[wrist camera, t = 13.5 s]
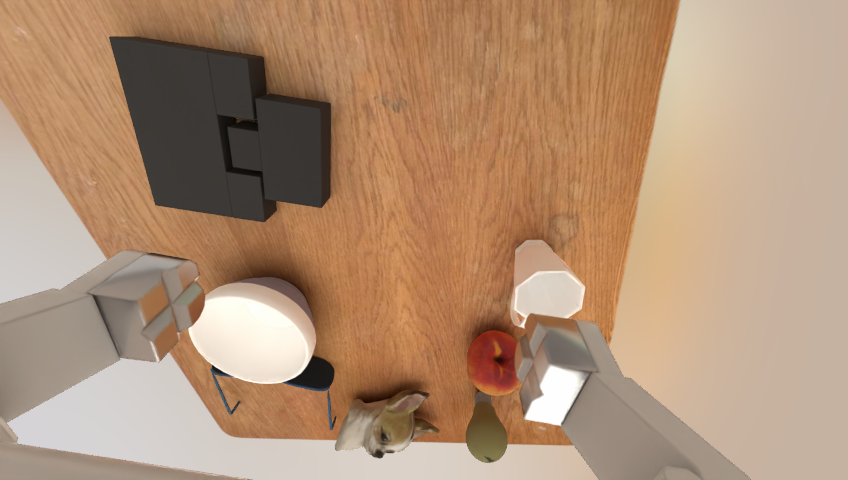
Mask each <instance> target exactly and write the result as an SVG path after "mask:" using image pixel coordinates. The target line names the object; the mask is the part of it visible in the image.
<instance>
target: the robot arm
mask: <svg viewBox="0 0 848 480" xmlns="http://www.w3.org/2000/svg"><path fill="white" fill-rule="evenodd" d="M199 276H200V272H199V269H198V265H197V263H196V262H194V261H192V260H189V259H183V258H178V257H172V256H166V255H161V254H155V253H148V252H142V251H136V250H124V251H121V252H119V253H117V254H116V255H114V256H113V257H111V258H109V259H108V260H106V261H105V262H103V263H102V264H100V265H98V266H97V267H95V268H94V269H92V270H91V271H89V272H87V273H86V274H84V275H83V276H81V277H79V278H78V279H77V280H75V281H73V282H71V283H70V284H68V285H67V286H65V287H64V288H62V289H60V290H59V289H50V290H46V291H43V292H39V293H36V294H33V295H29V296H26V297H23V298H19V299H15V300H12V301H8V302H5V303H2V304H0V480H250V479H244V478H238V477H231V476H225V475H218V474H212V473H205V472H198V471H191V470H185V469H178V468H171V467H165V466H159V465H153V464H146V463H139V462H133V461H126V460H120V459H113V458H106V457H100V456H93V455H87V454H81V453H74V452H68V451H60V450H54V449H47V448H41V447H34V446H28V445H22V444H17V439H18V437H17V436H16V435H15V433H14V432H13V431H12V429H11V428H10V427H9V426H8V424H7V422H9V421H11V420H13V419H14V418H16V417H18V416H20V415H22V414H23V413H25V412H27V411H29V410H31V409H32V408H34V407H36V406H38V405H40V404H42V403H43V402H45V401H47V400H49V399H51V398H52V397H54V396H56V395H57V394H59V393H61V392H63V391H65V390H67V389H68V388H70V387H72V386H74V385H76V384H77V383H79V382H81V381H83V380H85V379H87V378H88V377H90V376H92V375H94V374H96V373H97V372H99V371H101V370H103V369H105V368H106V367H108V366H110V365H112V364H114V363H116V362H117V361H119V360H120V358H126V359H134V360H142V361H150V362H158V363H159V362H160V361H161V360H162V359H163V358H164V357H165V355H166V354H167V353H168V352H169V351H170V350H171V349H172V348H173V347H174V346H175V345H176V343H177V342H178V341H179V332H181V331H183V330H185V329H188V328H190V327H192V326H193V325H194V324H195V322H196V321H197V320H198V319H199V318H200V316H201V313H202V311H203V309H204V306H205V294H204V289H203V288H202V287H201V286H200V285H199V284H198V283H197V282H196V280H197V278H198V277H199ZM524 326H525V331H526V334H525V335H523V336H522V337H520V338H519V340H518V343H517V346H516V350H515V358H514V362H515V373H516V377H517V378H518V379H519V381H520V382H521V383H522V384H523V385H522V387H521V390H520V392H519V395H520V400H521V405H522V410H523V416H524V419H526V420H532V421H537V422H543V423H548V424H554V425H559V426H561V429H562V430H563V431H564V433H565V434H566V435H567V437H568V438H569V439H570V441H571V442H572V444H573V445H574V446H575V448H576V449H577V450H578V452H579V453H580V454H581V456H582V457H583V459H584V460H585V461H586V463H587V464H588V465H589V467H590V468H591V469H592V471H593V472H594V474H595V475H596V476H597V478H598V479H599V480H751V479H750V478H749V477H748V476H747V475H746V474H745V473H744V472H742V471H741V470H740V469H739V468H738V467H736V466H735V465H734V464H733V463H732V462H730V461H729V460H728V459H727V458H726V457H724V456H723V455H722V454H721V453H720V452H718V451H717V450H716V449H715V448H714V447H712V446H711V445H710V444H709V443H708V442H706V441H705V440H704V439H703V438H702V437H700V436H699V435H698V434H697V433H696V432H694V431H693V430H692V429H691V428H690V427H688V426H687V425H686V424H685V423H684V422H683V421H681V420H680V419H679V418H678V417H677V416H675V415H674V414H673V413H672V412H670V411H669V410H668V409H667V408H666V407H665V406H663V405H662V404H661V403H660V402H659V401H657V400H656V399H655V398H654V397H653V396H651V395H650V394H649V393H648V392H646V391H645V390H644V389H643V388H642V387H641V386H639V385H638V384H637V383H636V382H635V381H633V380H632V379H631V378H626V377H624V376H623V374H622V373H621V371H620V369H619V366H618V365H617V363H616V361H615V359H614V357H613V355H612V353H611V351H610V349H609V347H608V345H607V343H606V341H605V339H604V337H603V335H602V333H601V331H600V329H599V327H598V325H597V324H596V323H594V322H593V321H586V320H579V319H568V318H561V317H554V316H548V315H541V314H534V313H530V314H529V316H528V317H527V319H526V322H525V324H524Z"/></svg>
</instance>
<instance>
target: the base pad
mask: <svg viewBox="0 0 848 480" xmlns="http://www.w3.org/2000/svg"><path fill="white" fill-rule="evenodd" d="M109 39H110V42H111V46H112V50H113V53H114V57H115V61H116V64H117V68H118V71H119V75H120V79H121V82H122V86H123V90H124V93H125V97H126V100H127V104H128V108H129V111H130V115H131V119H132V122H133V126H134V129H135V133H136V137H137V140H138V144H139V148H140V151H141V155H142V158H143V162H144V166H145V169H146V173H147V177H148V180H149V184H150V187H151V191H152V195H153V198H154V202H155V205H157V206H164V207H170V208H177V209H183V210H189V211H196V212H202V213H209V214H215V215H222V216H228V217H234V218H241V219H247V220H254V221H260V222H265V221H266V220H267V219H268V218H269V217H270V216H271V215H272V214H274V213H275V212H276V201H275V200H269V199H265V192H264V182H263V172H262V171H256V170H249V169H243V168H237V167H233V164H232V157H231V150H230V143H229V135H228V128H227V127H228V126H231V125H233V124H236V122H235V117H236V118H242V119H249V120H256V119H257V111H256V100H255V98H258V97H261V96H265V95H267V94H266V82H265V70H264V58H263V57H261V56H255V55H249V54H242V53H236V52H230V51H224V50H217V49H211V48H205V47H198V46H192V45H186V44H179V43H173V42H167V41H160V40H154V39H148V38H141V37H109Z"/></svg>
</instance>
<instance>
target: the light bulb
mask: <svg viewBox="0 0 848 480" xmlns="http://www.w3.org/2000/svg"><path fill="white" fill-rule="evenodd" d="M466 443H467V446H468V449H469V451H470V452H471V454H472V455H473V456H474V457H475V458H476V459H478V460H480V461H482V462H485V463H491V462H495V461H497V460H499V459H500V458H501V457H502V456H503V455H504V453H505V451H506V448H507V433H506V430H505V428H504V426H503V424H502V423H501V421H500V420H499V418H498V417H497V415H496V412H495V409H494V407H493V406H492V403H491V395H488V394H486V393H484V392H482V391H480V392H478V393H476V394H475V408H474V412H473V416H472V418H471V420H470V422H469V424H468V427H467V431H466Z"/></svg>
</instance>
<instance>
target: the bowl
mask: <svg viewBox="0 0 848 480" xmlns="http://www.w3.org/2000/svg"><path fill="white" fill-rule="evenodd" d="M188 329H189V335H190V337H191V340H192V342H193V344H194V346H195V347H196V348H197V350H198V351H199V353H200V354H201V355H202V356H203V357H204V358H205V359H206V360H207V361H209V362H210V363H211V364H212V365H213V366H215V367H216V368H218V369H220V370H221V371H223V372H225V373H227V374H229V375H231V376H233V377H236V378H239V379H242V380H245V381H249V382H254V383H263V384H272V383H280V382H285V381H288V380H290V379H293V378H295V377H296V376H298V375H299V374H301V373H302V371H303V370H304V369H305V368H306V366H307V365H308V363H309V361H310V359H311V357H312V354H313V352H314V348H315V345H316V333H315V326H314V321H313V317H312V313H311V311H310V308H309V306H308V304H307V301H306V299H305V297H304V295H303V294H302V293H301V292H300V290H299V289H298V288H296V287H295V286H294V285H292V284H291V283H289V282H287V281H285V280H282V279H279V278H275V277H260V278H248V279H244V280H241V281H235V282H232V283H228V284H226V285H223V286H219V287H217V288H216V289H214V290H212V291H211V292H209V293H208V294H207V295H206V296H205V306H204V309H203V311H202V313H201V316H200V318H199V319H198V320H197V321H196V322H195V324H194V325H193V326H192V327H190V328H188Z"/></svg>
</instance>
